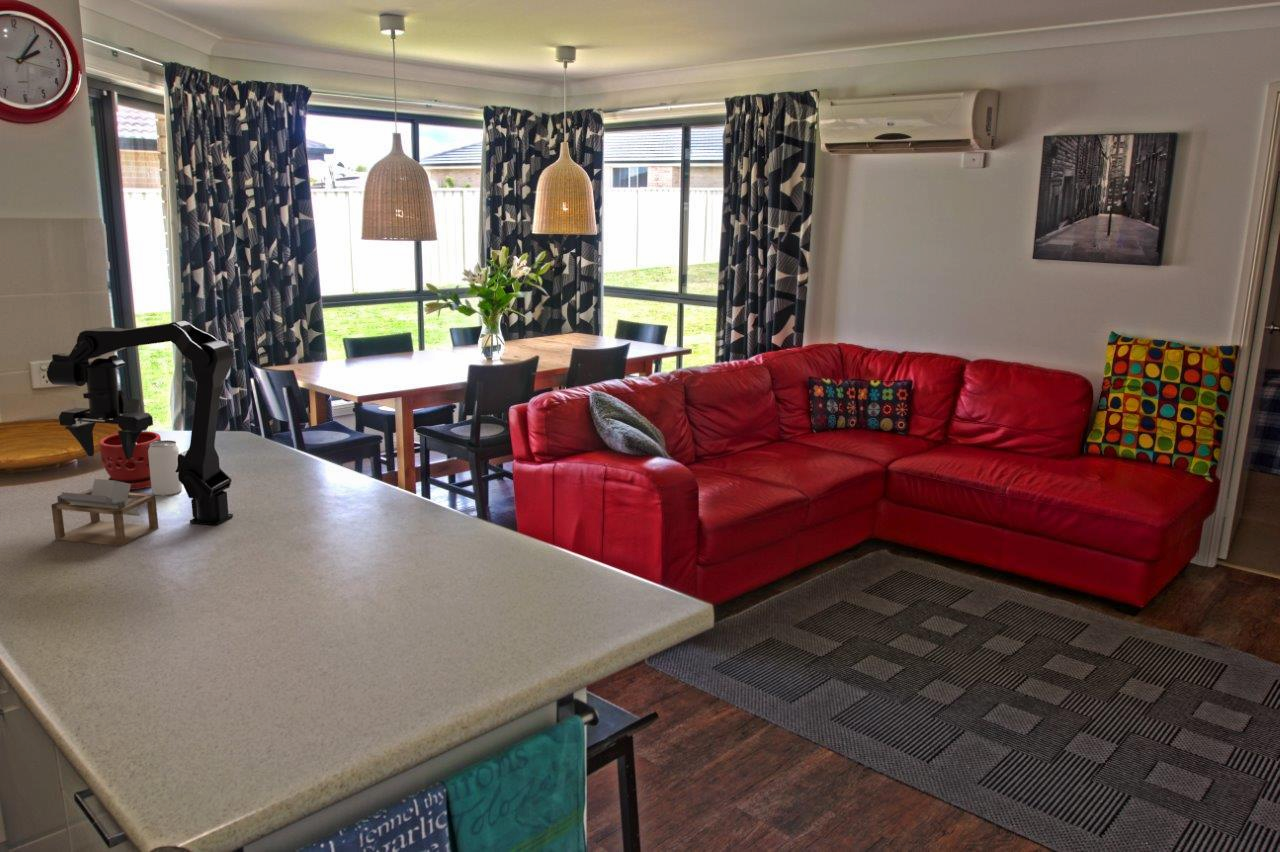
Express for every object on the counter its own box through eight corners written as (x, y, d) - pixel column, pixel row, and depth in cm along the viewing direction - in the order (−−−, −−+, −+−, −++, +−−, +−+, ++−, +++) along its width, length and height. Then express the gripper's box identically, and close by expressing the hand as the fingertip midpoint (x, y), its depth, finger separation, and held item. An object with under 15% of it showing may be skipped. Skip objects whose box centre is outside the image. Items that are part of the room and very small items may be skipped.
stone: (126, 507, 197) (130, 483, 198) (109, 504, 192) (114, 480, 193) (106, 505, 198) (111, 482, 199) (89, 502, 193) (94, 478, 194)
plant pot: (106, 480, 232) (101, 433, 229) (165, 475, 237) (161, 429, 234) (101, 495, 220) (96, 445, 217) (164, 489, 226) (159, 441, 223)
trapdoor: (140, 517, 196) (141, 511, 196) (109, 502, 187) (111, 496, 187) (87, 512, 198) (89, 506, 198) (55, 497, 189) (57, 491, 190)
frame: (158, 528, 200) (154, 488, 198) (121, 546, 189) (117, 504, 187) (95, 522, 202) (90, 482, 200) (55, 539, 192) (50, 498, 190)
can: (173, 496, 221) (169, 447, 218) (146, 495, 221) (141, 446, 218) (187, 488, 227) (183, 440, 224) (160, 487, 227) (156, 439, 224)
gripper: (166, 383, 207) (173, 451, 211) (92, 377, 210) (99, 445, 214) (131, 392, 196) (138, 464, 200) (53, 387, 200) (61, 458, 203)
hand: (110, 457), depth 204 cm, fingers open, 9 cm apart
